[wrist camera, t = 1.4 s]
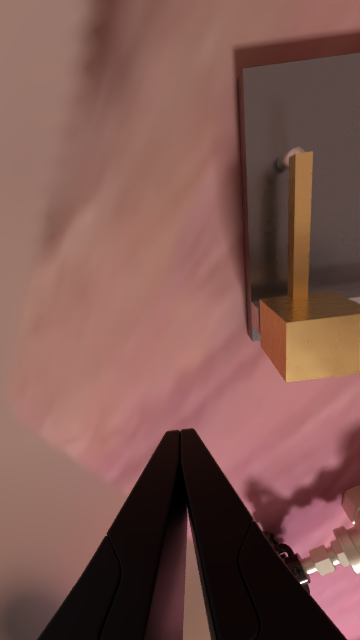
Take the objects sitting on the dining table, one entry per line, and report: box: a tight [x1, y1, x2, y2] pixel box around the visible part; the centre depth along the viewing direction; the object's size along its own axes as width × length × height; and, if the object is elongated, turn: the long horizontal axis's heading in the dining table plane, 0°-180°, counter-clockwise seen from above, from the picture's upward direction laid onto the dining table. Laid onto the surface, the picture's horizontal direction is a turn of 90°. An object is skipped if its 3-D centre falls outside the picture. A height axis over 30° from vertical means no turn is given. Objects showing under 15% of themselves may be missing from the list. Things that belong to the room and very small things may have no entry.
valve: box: [263, 485, 360, 594], centre depth 23 cm, size 7×7×12 cm
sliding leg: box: [260, 147, 360, 382], centre depth 14 cm, size 4×10×6 cm, turn 7°
